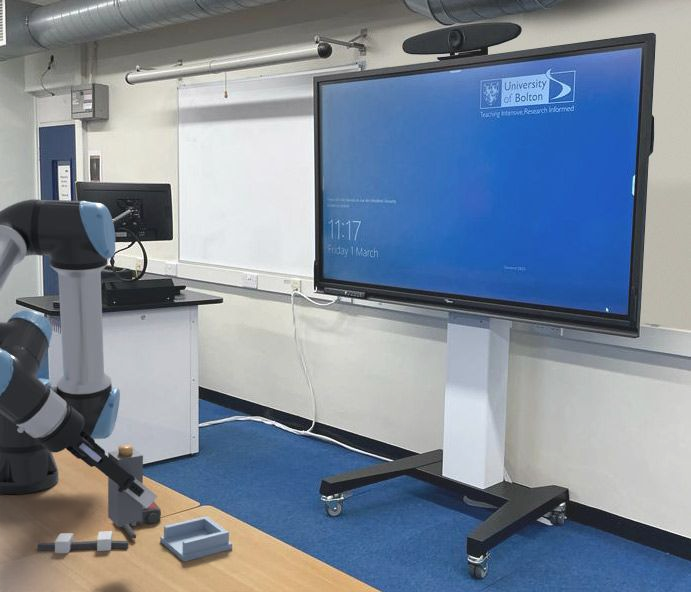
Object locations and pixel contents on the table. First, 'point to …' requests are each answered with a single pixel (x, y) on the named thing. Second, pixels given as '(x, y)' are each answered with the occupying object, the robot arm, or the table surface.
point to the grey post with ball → (123, 504)
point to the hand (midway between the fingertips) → (145, 496)
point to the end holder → (195, 538)
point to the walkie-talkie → (145, 518)
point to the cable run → (83, 543)
